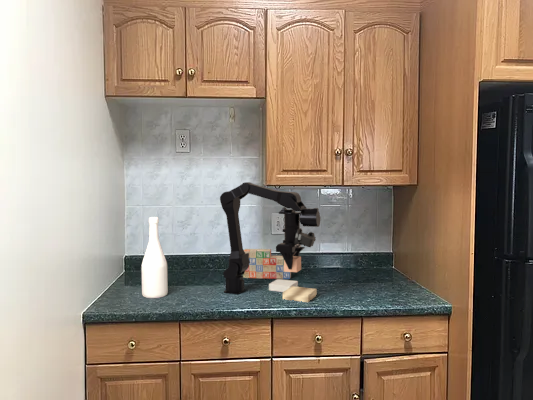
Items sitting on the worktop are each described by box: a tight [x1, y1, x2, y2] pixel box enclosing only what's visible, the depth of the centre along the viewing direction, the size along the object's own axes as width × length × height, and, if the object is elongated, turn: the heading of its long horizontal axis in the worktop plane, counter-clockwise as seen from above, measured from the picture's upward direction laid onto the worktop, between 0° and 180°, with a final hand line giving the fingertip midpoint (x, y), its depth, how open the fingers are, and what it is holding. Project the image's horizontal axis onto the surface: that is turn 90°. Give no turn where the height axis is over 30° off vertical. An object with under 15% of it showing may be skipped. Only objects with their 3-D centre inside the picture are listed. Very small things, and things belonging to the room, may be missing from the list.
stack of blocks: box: [242, 248, 292, 280], centre depth 205 cm, size 21×6×12 cm, turn 83°
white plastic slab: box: [268, 279, 299, 293], centre depth 184 cm, size 9×9×3 cm
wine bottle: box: [141, 216, 168, 299], centre depth 173 cm, size 10×10×30 cm
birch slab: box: [282, 286, 318, 303], centre depth 172 cm, size 10×10×3 cm
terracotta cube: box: [284, 255, 302, 273], centre depth 170 cm, size 5×5×5 cm
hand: (292, 267), depth 170 cm, fingers closed on terracotta cube, 5 cm apart
